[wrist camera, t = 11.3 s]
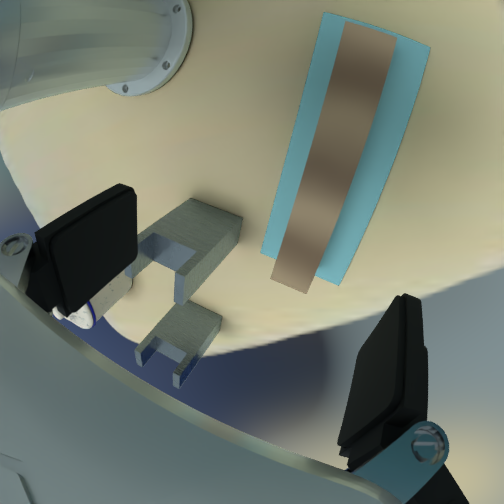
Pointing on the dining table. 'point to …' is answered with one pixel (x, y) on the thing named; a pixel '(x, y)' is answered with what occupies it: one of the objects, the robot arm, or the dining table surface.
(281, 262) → the rail
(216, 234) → the near standard
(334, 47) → the mat
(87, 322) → the teacup with lid
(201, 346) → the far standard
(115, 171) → the dining table surface
